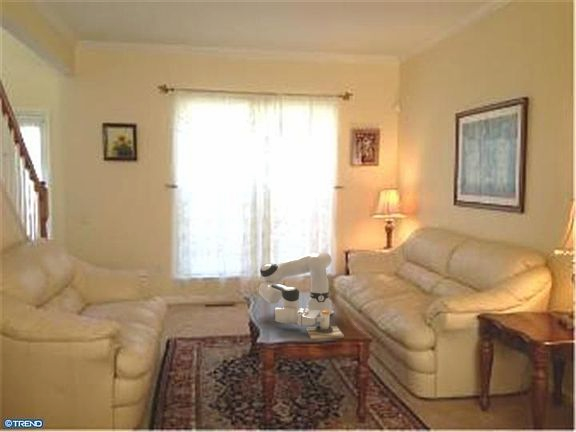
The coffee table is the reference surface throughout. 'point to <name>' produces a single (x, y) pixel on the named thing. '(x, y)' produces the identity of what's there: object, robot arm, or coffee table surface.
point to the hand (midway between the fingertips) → (325, 317)
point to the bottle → (325, 315)
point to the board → (324, 332)
